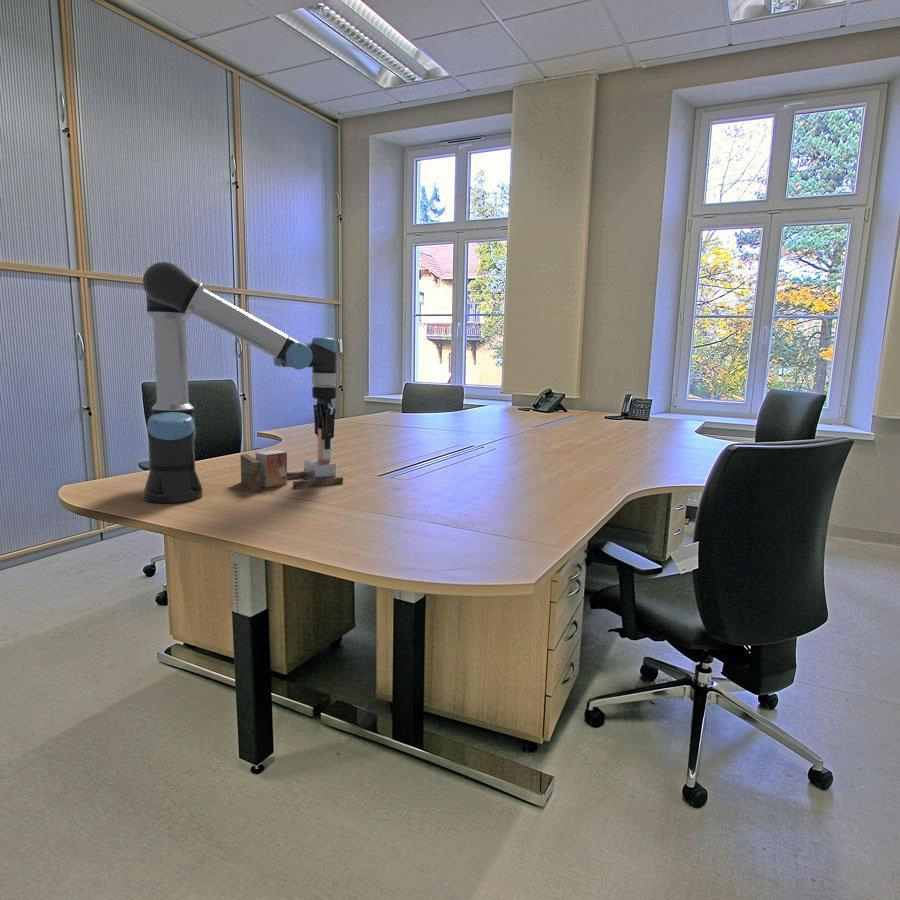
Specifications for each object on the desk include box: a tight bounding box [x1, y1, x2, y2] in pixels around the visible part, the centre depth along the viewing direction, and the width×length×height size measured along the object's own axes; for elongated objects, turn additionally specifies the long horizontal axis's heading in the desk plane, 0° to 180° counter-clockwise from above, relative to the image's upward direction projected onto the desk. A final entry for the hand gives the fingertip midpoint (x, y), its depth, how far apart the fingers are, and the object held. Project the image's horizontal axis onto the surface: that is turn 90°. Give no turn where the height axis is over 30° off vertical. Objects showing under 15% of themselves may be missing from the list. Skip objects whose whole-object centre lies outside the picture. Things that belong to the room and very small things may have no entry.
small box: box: [255, 449, 288, 489], centre depth 188 cm, size 8×6×10 cm
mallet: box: [303, 428, 337, 480], centre depth 197 cm, size 7×10×17 cm
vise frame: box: [240, 453, 344, 493], centre depth 192 cm, size 28×15×9 cm, turn 123°
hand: (324, 457), depth 198 cm, fingers closed on mallet, 3 cm apart
